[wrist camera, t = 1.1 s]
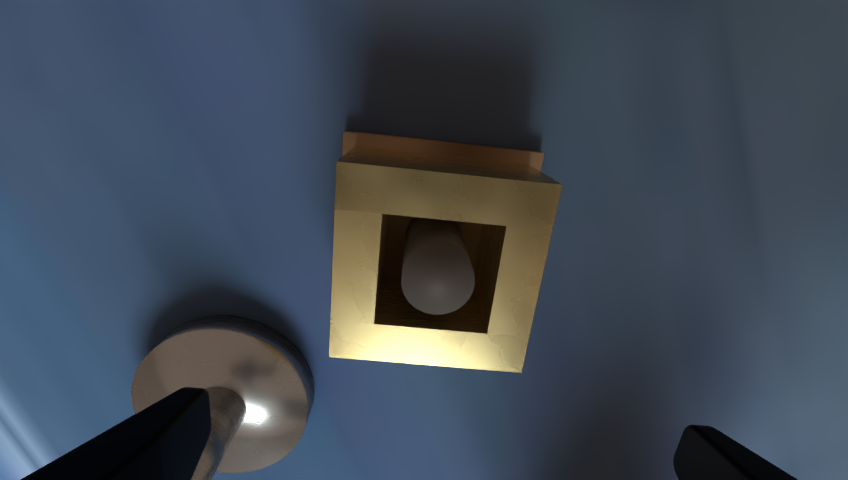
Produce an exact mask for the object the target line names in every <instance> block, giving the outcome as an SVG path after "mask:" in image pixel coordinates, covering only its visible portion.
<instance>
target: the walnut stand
mask: <svg viewBox="0 0 848 480" xmlns="http://www.w3.org/2000/svg"><path fill="white" fill-rule="evenodd" d="M355 146H359V147H368V148H378V149H387V150H397V151H406V152H415V153H425V154H434V155H444V156H453V157H463V158H472V159H482V160H491V161H500V162H510V163H519V164H529V165H531V166H533V167H534V168H536V169H538V170H539V171H541V168H542V163H543V158H544V153H542V152H540V151H531V150H522V149H513V148H503V147H494V146H485V145H476V144H466V143H457V142H448V141H438V140H429V139H420V138H410V137H401V136H392V135H383V134H373V133H364V132H355V131H344V132H343V146H342V157H343V156H344V155H345V154H346V153H347V152H349V151H350V150H351V149H352V148H354V147H355ZM482 226H483V224H481V223H471V222H460V221H450V220H440V219H430V218H420V217H410V216H400V215H389V214H388V221H387V234H386V246H385V259H384V271H383V277H392V278H401V285H402V290H403V293H404V295H405V297H406V299H407V300H408V302H409V303H410V304H411V305H412V306H414V307H415V308H416V309H418V310H420V311H422V312H424V313H428V314H434V315H441V314H447V313H450V312H453V311H455V310H457V309H459V308H460V307H462V306H463V305H464V304H465V303H466V302H467V301H468V299H469V298H470V296H471V295H472V292H473V290H474V285H475V270H476V264H477V257H478V251H479V245H480V239H481V232H482Z"/></svg>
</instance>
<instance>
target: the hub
mask: <svg viewBox="0 0 848 480" xmlns="http://www.w3.org/2000/svg"><path fill="white" fill-rule="evenodd" d="M183 387H194V388H204V389H206V390H207V391H208V393H209V400H210V412H211V432H210V436H209V439H208V441H207V443H206V446H205V448H204V451H203V453H202V455H201V458H200V460H199V462H198V465H197V467H196V469H195V472H194V474H193V476H192V479H191V480H211V479H212V477H213V476H214V474H215V472H222V473H241V472H249V471H254V470H258V469H261V468H265V467H267V466H269V465H272V464H274V463H276V462H277V461H279V460H281V459H282V458H283V457H285V456H286V455H287V454H288V453H290V452H291V450H292V449H293V448H294V447H295V446H296V445H297V443H298V442H299V440H300V438H301V436H302V434H303V432H304V429H305V426H306V423H307V420H308V417H309V414H310V411H311V408H312V405H313V401H314V382H313V378H312V374H311V371H310V369H309V366H308V364H307V363H306V361H305V359H304V357H303V356H302V355H301V353H300V352H299V351H298V349H297V348H296V347H295V346H294V345H293V344H292V343H291V342H290V341H288V340H287V339H286V338H285V337H284V336H282V335H281V334H279V333H278V332H276V331H275V330H273V329H271V328H269V327H267V326H265V325H263V324H261V323H258V322H255V321H253V320H249V319H245V318H240V317H233V316H210V317H204V318H199V319H196V320H193V321H190V322H187V323H185V324H183V325H181V326H179V327H178V328H176V329H175V330H174V331H172V332H171V333H170V334H169V335H168V336H167V337H165V338H164V339H163V340H162V341H161V342H160V343H159V344H158V345H157V346H156V347H155V348H154V349H153V350H152V351H151V352H150V353H149V354H148V355H147V356H146V357H145V358H144V359H143V361H142V362H141V363H140V365H139V366H138V368H137V370H136V372H135V375H134V379H133V382H132V391H131V393H132V403H133V407H134V411H135V414H136V413H138V412H140V411H142V410H143V409H145V408H147V407H149V406H150V405H152V404H154V403H156V402H157V401H159V400H161V399H163V398H164V397H166V396H168V395H170V394H171V393H173V392H175V391H177V390H179V389H181V388H183Z"/></svg>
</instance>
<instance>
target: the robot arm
mask: <svg viewBox="0 0 848 480" xmlns="http://www.w3.org/2000/svg"><path fill="white" fill-rule="evenodd" d="M210 432H211V412H210V400H209V393H208V391H207V390H206V389H204V388H194V387H183V388H181V389H179V390H177V391H175V392H173V393H171V394H170V395H168V396H166V397H164V398H163V399H161V400H159V401H157V402H156V403H154V404H152V405H150V406H149V407H147V408H145V409H143V410H142V411H140V412H138V413H136V414H135V415H133V416H131V417H129V418H128V419H126V420H124V421H122V422H121V423H119V424H117V425H115V426H114V427H112V428H110V429H108V430H107V431H105V432H103V433H101V434H100V435H98V436H96V437H94V438H93V439H91V440H89V441H87V442H86V443H84V444H82V445H80V446H79V447H77V448H75V449H73V450H72V451H70V452H68V453H66V454H65V455H63V456H61V457H59V458H58V459H56V460H54V461H52V462H51V463H49V464H47V465H45V466H44V467H42V468H40V469H38V470H37V471H35V472H33V473H31V474H30V475H28V476H26V477H24V478H23V479H21V480H191V479H192V476H193V474H194V472H195V469H196V467H197V465H198V462H199V460H200V458H201V455H202V453H203V451H204V448H205V446H206V443H207V441H208V439H209V436H210ZM673 462H674V469H675V472H676V474H677V477H678V479H679V480H797V479H796V478H794V477H793V476H791V475H789V474H788V473H786V472H785V471H783V470H781V469H780V468H778V467H776V466H775V465H773V464H772V463H770V462H768V461H767V460H765V459H764V458H762V457H760V456H759V455H757V454H755V453H754V452H752V451H751V450H749V449H747V448H746V447H744V446H743V445H741V444H739V443H738V442H736V441H734V440H733V439H731V438H730V437H728V436H726V435H725V434H723V433H722V432H720V431H718V430H717V429H715V428H713V427H710V426H703V425H689V426H687V427H686V428H685V429H684V431H683V434H682V437H681V439H680V442H679V444H678V447H677V450H676V452H675V455H674V461H673Z"/></svg>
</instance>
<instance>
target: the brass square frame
mask: <svg viewBox="0 0 848 480" xmlns="http://www.w3.org/2000/svg"><path fill="white" fill-rule="evenodd" d="M561 188H562V184H560V183H558V182H557V181H555V180H554V179H552V178H550V177H549V176H547V175H546V174H544V173H542V172H541V171H539V170H538V169H536V168H534V167H533V166H531V165H529V164H519V163H510V162H500V161H491V160H482V159H472V158H463V157H453V156H444V155H434V154H425V153H415V152H406V151H397V150H387V149H378V148H368V147H359V146H355V147H354V148H352V149H351V150H350V151H349V152H347V153H346V154H345V155H344V156H343V157H341V158H340V159H339V160H338V161H336V186H335V213H334V241H333V268H332V295H331V322H330V349H329V357H335V358H347V359H359V360H372V361H384V362H396V363H408V364H421V365H433V366H445V367H457V368H469V369H482V370H494V371H506V372H518V373H521V372H522V367H523V363H524V358H525V354H526V349H527V344H528V340H529V335H530V331H531V326H532V321H533V317H534V312H535V308H536V303H537V299H538V294H539V289H540V285H541V280H542V276H543V271H544V266H545V262H546V257H547V253H548V248H549V244H550V239H551V234H552V230H553V225H554V221H555V216H556V211H557V207H558V202H559V198H560V193H561ZM388 214H389V215H400V216H410V217H420V218H430V219H440V220H450V221H460V222H471V223H481V224H483V226H482V232H481V239H480V245H479V251H478V257H477V264H476V270H475V285H474V290H473V292H472V295H471V296H470V298H469V299H468V301H467V302H466V303H465V304H464V305H463V306H462V307H460V308H459V309H457V310H455V311H453V312H450V313H447V314H441V315H434V314H428V313H424V312H422V311H420V310H418V309H416V308H415V307H414V306H412V305H411V304H410V303H409V302H408V300H407V299H406V297H405V295H404V293H403V290H402V285H401V278H392V277H383V271H384V259H385V246H386V234H387V221H388Z"/></svg>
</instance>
